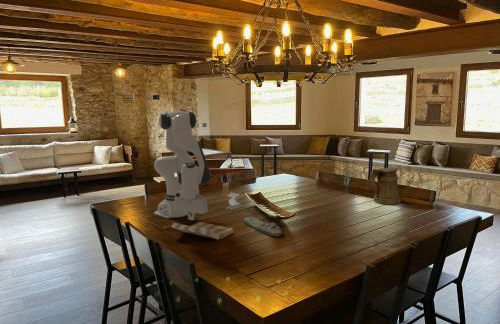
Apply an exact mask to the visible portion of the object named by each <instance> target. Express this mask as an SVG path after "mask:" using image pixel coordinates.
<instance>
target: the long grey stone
mask: <svg viewBox="0 0 500 324" xmlns="http://www.w3.org/2000/svg"><path fill="white" fill-rule="evenodd" d="M243 223H245V224H246V226H247V225H248V226H249V227H250V228H252V229H254V230H256V231H258V232H260V233H262V234H265V235H267V236H270V237H280V236H282V235H283V233H282V231H283V230H282V229H281V227H279V226H278V225H277V223H276V222H265V221H262V220H260V219H257V218H256V217H254V216H253V217H252V216H247V217H244V219H243Z"/></svg>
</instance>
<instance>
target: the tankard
mask: <svg viewBox="0 0 500 324" xmlns="http://www.w3.org/2000/svg"><path fill="white" fill-rule="evenodd" d="M397 172H398V167H382V168H378V169H377V168H372V170H371V172H370V175H369V182H370V185H371V187H372V188H373V190H374V193H375V194H374V196H373V201H374V202H375V203H376V204H380V205H386V206H389V205H392V206H393V205H398V204H400V203H401V202H402V201H401V196H400V195H399V194H400V193H399V185H398V184H399V183H398V180H399V177H398V176H399V175H398V174H397ZM375 179H376V180H377V182H375V181H376V180H375Z"/></svg>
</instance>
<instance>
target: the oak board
mask: <svg viewBox="0 0 500 324" xmlns="http://www.w3.org/2000/svg"><path fill="white" fill-rule="evenodd" d="M190 226H191V227H196V228H201V229H206V230H209V231H211V232H214V233H216V234H218V235H220V237H219V240H222V239H224V238H226V237H228V236H230V235H231V234H233V233H234V228H232V227H227V226H222V225H219V224H212V223H207V222H202V221H198V222H196V223H194V224H191V225H190Z"/></svg>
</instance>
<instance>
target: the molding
mask: <svg viewBox="0 0 500 324" xmlns="http://www.w3.org/2000/svg"><path fill="white" fill-rule="evenodd" d="M227 197H229V200H228V204H229V206H227V207H225V209H226V210H231V211H233V210H236V209H240V208H243V207H244V205H243V204H241V202H238V200H240V199H242V198H244V196H242V195H241V194H238V193H234V192H229V194H228V195H227Z"/></svg>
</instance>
